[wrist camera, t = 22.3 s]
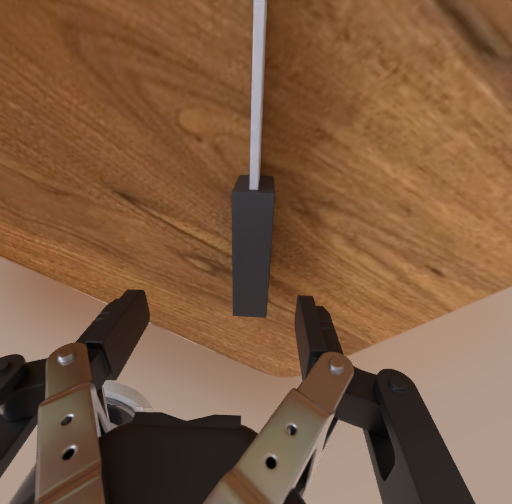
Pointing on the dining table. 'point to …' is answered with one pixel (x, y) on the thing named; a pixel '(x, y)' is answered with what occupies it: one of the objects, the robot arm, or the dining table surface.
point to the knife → (253, 199)
